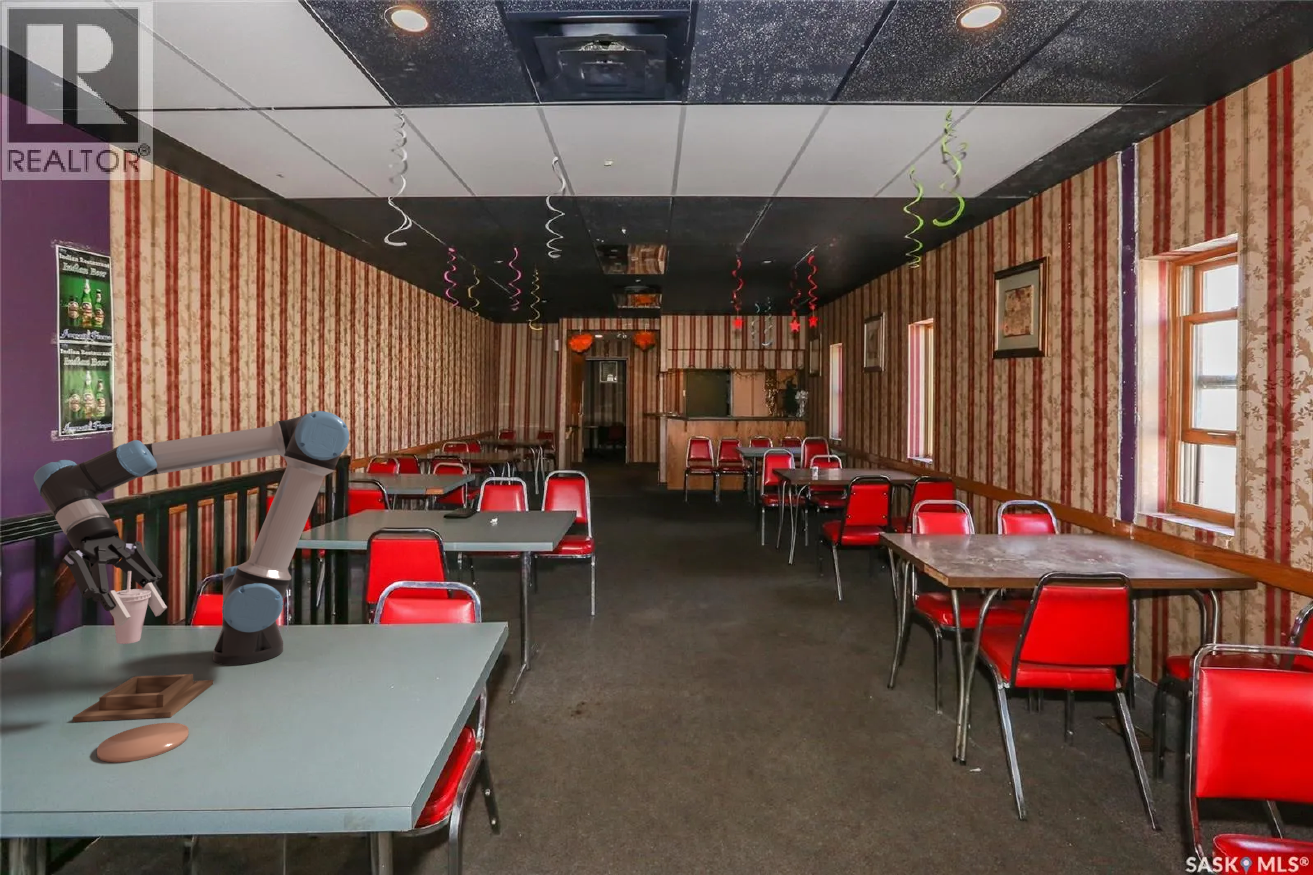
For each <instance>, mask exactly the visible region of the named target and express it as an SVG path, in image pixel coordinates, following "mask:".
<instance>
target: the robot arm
mask: <svg viewBox="0 0 1313 875" xmlns="http://www.w3.org/2000/svg"><path fill="white" fill-rule="evenodd" d="M349 442H350V432H349V429H348V426H347V424H346V423H345V421H344V420H343V419H342V418H341V417H339V416H338V415H337V414H334V413H333V412H328V411H325V410H318V411H316V410H315V411H312V412H308V413H306V414H303V415H300V416H298V417H293V418H289V419H283V420H277V421H276V422H275V423H273V425H270V426H263V427H256V428H255V427H254V428H249V429H242V430H233V431H228V432H220V433H212V434H208V435H207V434H206V435H200V436H192V437H185V438H179V439H171V440H165V441H157V442H151V443H145V444H144V443H143V442H142V441H141V440H139V439H134V440H131V441H128V442H126V443H122V444H120V445H118V446H117V447H114V448H112V449H110V450H107V451H105V452H102V453H101V454H99V455H96V456H95V457H92V458H90V459H88V460H86V461H83V462H81V463H78V464H77V463H76V462H75V461H73V460H69V459H60V460H57V461H55V462H54V461H51V462H48V463H46V464H44V465H42V466H41V467H39V468H38V469H36V471H35V473H34V475H33V481H34V483H35V487H36V488H37V490H38V494H39V496H40V497H42V499H43V501H44V502H45V504H46V506H47V508H49V510H50V512H51V513H52V515H53V517H54V519H55V520H56V522H57V523H58V525H59V527H60V528H61V530H62V532H63V534H65V535H66V538H67V540H68V542H69V544H70V545H71V547H72V549H73V550H70V551H69V552H68V553H67V554H65V556H64V557H63V558H62V560H61V561H62V562H63V563H64V564H65V565H66V566H67V568H69V570H70V572H71V574H72V576H73V578H74V580H75V583H76V585H77V586H78V589H79V591H80V593H81V596H82V597H83V599H85V600H87V599H88V600H89V599H90V598H92V601H93V602H96V603H97V602H100V605H101V606H102V608H103V610H104V611H106V612H109V613H110V614H111V616H112V617H113V619H115V621H116V622H117V624H118V626H121V625H123V624H124V623H125V622H126V621H127V620H128V619H129V618H130V617H131V616H130V615H129V613H128V611H127V610H126V608H125V606H124V605H123V603H122V601H121V600H120V598H119V597H118V595H117V593H116V592H117V591H116V590H115V589H114V590H110V588H109V580H108V573H107V565H113V567H115V568H117V569H120V570H122V572H124V573H125V575H127V576H128V571H131V580H133V581H134V582H136V584H138V585H139V586H140V587H141V589H146V590H150V591H151V597H150V598H149V599H148V605H147V606H149V608H150V609H151V611H152V612H153V614H154V616H155V617H159V616H161V615H162V613H163V612H165V610H167V609H168V606H167V605H166V604H165V601H164V600H163V599H162V592H161V590H160V588H159V587H158V585H157V584H158V582H159V581H160V580H161V579H162V578H163V574H162V572H161V571H160V570H159V569H158V568H157V566H156V565H155V564H154V562H153V561H152V560H151V558H150V557H149V556H148V554H147V553H146V551H145V550H144V548H143V545H142V544H143V543H142V542H140V541H135V542H134V543H126V542H125V540H123V539H121V537H120V533H119V530H118V528H117V526H116V524H115V523H114V522H113V520H112V518H110V515H109V513H108V511H107V510H106V509H105V507H104V505H103V504H102V503H101V501H100V499H99V497H98V496H101V495H103V494H105V493H108V492H109V491H111V490H113V489H116V488H119V487H120V486H122V485H125V484H127V483H128V482H131V481H133V480H136V479H138V478H144V477H150V476H156V475H161V474H167V473H172V472H173V473H174V472H178V471H179V472H180V471H186V470H191V469H197V468H204V467H210V466H211V467H212V466H215V465H216V466H218V465H222V464H223V465H224V464H229V463H230V464H231V463H235V462H236V463H237V462H241V461H247V460H248V461H249V460H253V459H254V460H255V459H260V458H266V457H272V456H280V457H282V458H284V460H285V462H286V464H287V466H286V468H285V470H284V473H283V475H282V477H281V480H280V482H279V485H278V487H277V490H276V492H275V495H274V496H273V500H272V502H271V503H270V504H271V505H270V506H269V510H268V512H267V514H266V517H265V520H264V522H263V524H262V526H261V529H260V531H259V534H258V537H256V538H257V539H256V541H255V543H254V546H253V548H252V551H251V553H250V556H249V558H248V560H246V561H245V562H243V563H241V564H239V565H234V566H228V567H226V568H225V569H224V572H223V577H222V582H223V583H222V585H223V588H222V606H221V613H222V625H221V626H222V627H221V631H220V633H219V635H218V639H217V640H216V643H215V646H214V648H213V653H212V655H213V656H212V657H213V658H212V661H213V663H216V664H219V665H224V666H226V665H228V666H235V665H236V666H237V665H249V664H254V663H260V662H264V661H266V660H270V659H273V658H276V657H277V656H280V655H281V654H282V653H283V651H284V640H283V636H282V635H281V632H280V629H279V626H278V624H277V620H278V618H279V617H280V615H281V614H282V611H283V608H284V598H285V595H286V592H287V590H288V587H289V585H290V583H291V580H292V575H291V573H290V572H289V566H290V564H291V562H292V559H293V556H294V554H295V551H296V548H297V547H298V544H299V541H300V538H301V536H302V534H303V532H304V529H305V527H306V524H307V521H308V519H309V516H310V514H311V511H312V509H313V507H314V504H315V501H316V499H317V497H318V494H319V491H320V488H322V487H321V486H322V484H323V481H324V479H325V477H326V476H327V475H329V474H332V473H334V471H335V469H336V466H337V464H338V462H339V459H340V456H341V455H342V453H343V452H345V450H346V449H347V447H348V445H349ZM85 561H87V562H88V565H89V567H88V566H87V563H86V562H85Z"/></svg>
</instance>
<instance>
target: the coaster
mask: <svg viewBox="0 0 1313 875" xmlns="http://www.w3.org/2000/svg"><path fill="white" fill-rule="evenodd" d="M189 730H190V729H189V727H188V726H187V725H185V724H183V723H177V722H159V723H152V724H147V725H141V726H137V727H134V728H130V729H126V730H124V731H121V732H119V733H116V734H114V735H112V736H110V737H108V738H106V739H105V740H103V741H102V742H101V743H100V744H98V746H97V749H96V757H97V759H98V760H100V761H102V762H106V763H128V762H129V763H130V762H134V761H135V762H136V761H141V760H146V759H149V758H152V757H156V756H159V755H162V754H164V753H167V752H169V751H172V750H174V749H176V748H177V747H180V746H181V745H182V744H183V743H185V742H186V741H187V739H188V738H189V735H190V734H189Z"/></svg>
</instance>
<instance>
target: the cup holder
mask: <svg viewBox="0 0 1313 875" xmlns="http://www.w3.org/2000/svg"><path fill="white" fill-rule="evenodd" d="M213 685H214V679H207V680H206V679H204V680H194V674H193V673H187V674H186V673H184V674H161V675H159V674H157V675H155V674H154V675H135V676H133V677H131V678H130V679H128V680H126V681H125V682H123V683H121V684H119V685H118V686H116V687H114V688H112V689H110V690H109V691H108V692H106V693H105V694H102V695H101V696H100V697H99V699H98V701H96V702H95V703H93V704H92V705H90V706H88V707H87V708H86V709H85V708H84V710H82V711H80V712H79V713H77V714H75V715H74V716H72V723H81V722H84V723H85V722H100V721H102V722H103V720H105V721H117V720H118V721H122V720H141V719H162V718H172V717H173V716H174V715H175V714H177V713H178V712H179V711H181V710H182V709H183V708H185V707H186V706H187V705H188V704H189V703H191V702H192V701H194V700H195V699H197V698H198V697H199V696H201V695H202V694H203V693H204V692H205V691H207V690H208V689H209V688H210V687H212V686H213Z"/></svg>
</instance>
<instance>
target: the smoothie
mask: <svg viewBox="0 0 1313 875" xmlns="http://www.w3.org/2000/svg"><path fill="white" fill-rule="evenodd" d="M131 582H132V578H131V571H128V575H127V581H126V589H124V590H118V591H115V592H116V593H117V595H118V597H119V598H120V600H121V601H122V603H123V605H124V606H125V608H126V610H127V611H128V613H129V615H130V616H131V617H130V618H129V619H128V620H127V621H126V622H125V623H124V624H123V625H121V626H118V624H117V622H116V621H115V619H114V618H113V619H114V620H113V622H114V629H115V630H114V631H115V642H116V643H117V644H120V645H123V644H124V645H126V644H133V643H137V642H139V641H140V640H141V638H142V634H143V633H142V632H143V628H144V624H145V619H146V618H145V617H146V613H147V608H148V606H149V605H148V599H149V598H150V597H151V591H150V590H146V589H143V588H133V589H131V587H132V586H131V585H132V584H131Z"/></svg>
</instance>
